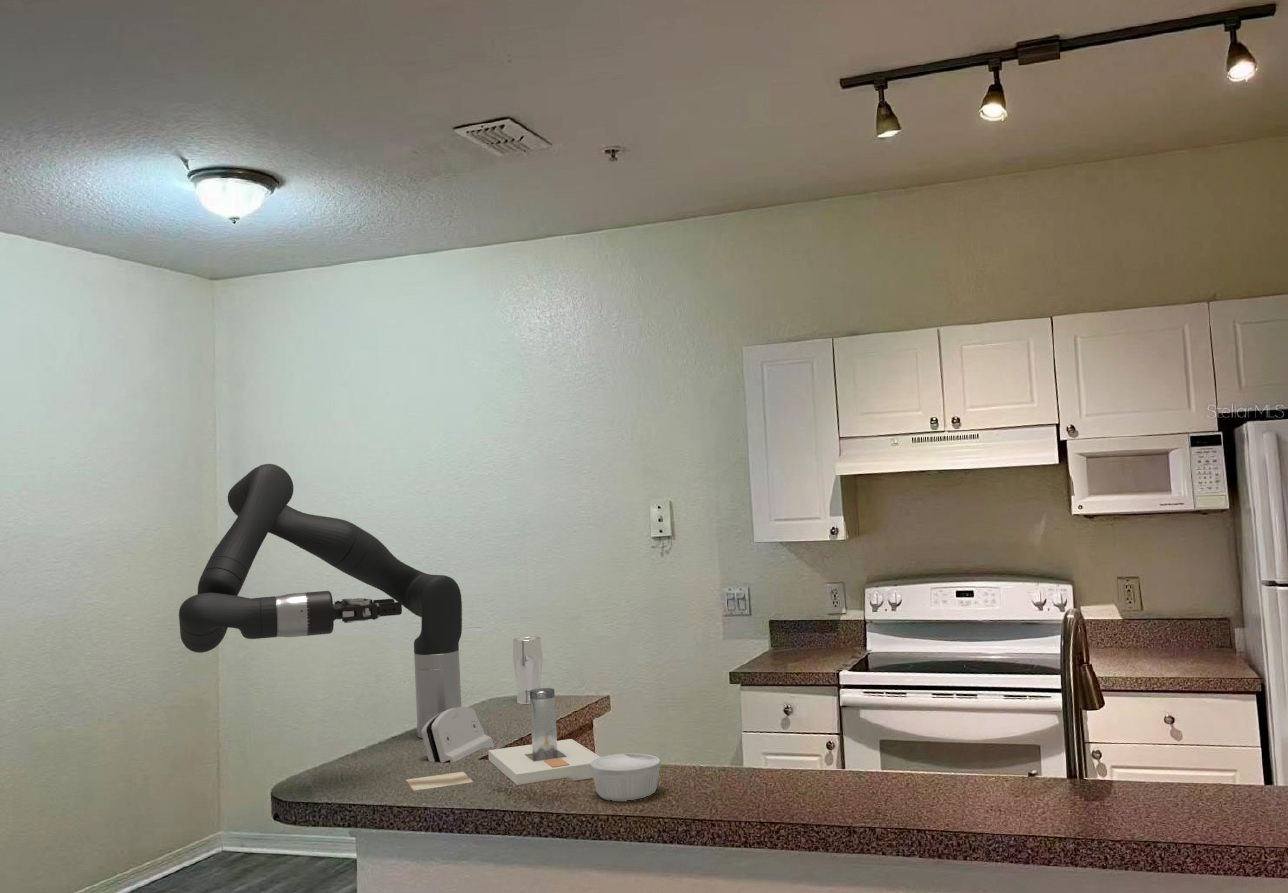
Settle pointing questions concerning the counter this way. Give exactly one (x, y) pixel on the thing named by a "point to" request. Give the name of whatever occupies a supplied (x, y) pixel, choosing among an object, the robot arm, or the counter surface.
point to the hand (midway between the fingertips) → (397, 606)
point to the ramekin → (625, 776)
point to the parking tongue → (438, 781)
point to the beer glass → (527, 666)
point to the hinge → (454, 735)
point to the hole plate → (544, 763)
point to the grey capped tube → (543, 724)
